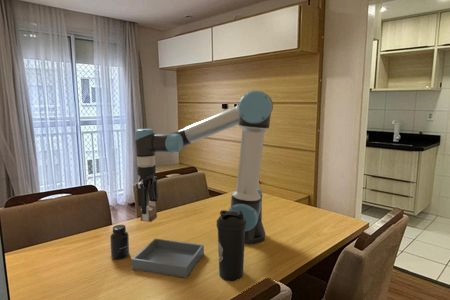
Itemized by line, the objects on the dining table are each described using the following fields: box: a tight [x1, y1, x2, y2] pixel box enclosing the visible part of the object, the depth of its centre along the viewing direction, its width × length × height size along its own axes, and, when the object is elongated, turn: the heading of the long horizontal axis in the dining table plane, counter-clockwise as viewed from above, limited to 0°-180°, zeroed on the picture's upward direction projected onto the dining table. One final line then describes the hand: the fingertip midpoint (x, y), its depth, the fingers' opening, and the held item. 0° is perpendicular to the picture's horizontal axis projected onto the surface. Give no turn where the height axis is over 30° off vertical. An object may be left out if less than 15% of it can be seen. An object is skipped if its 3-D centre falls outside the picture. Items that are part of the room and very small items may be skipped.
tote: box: [130, 238, 205, 279], centre depth 114 cm, size 22×18×4 cm
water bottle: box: [216, 209, 246, 282], centre depth 104 cm, size 10×10×23 cm
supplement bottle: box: [110, 224, 130, 260], centre depth 119 cm, size 7×7×12 cm
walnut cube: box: [139, 205, 158, 223], centre depth 129 cm, size 5×5×5 cm
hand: (149, 218), depth 130 cm, fingers closed on walnut cube, 5 cm apart
